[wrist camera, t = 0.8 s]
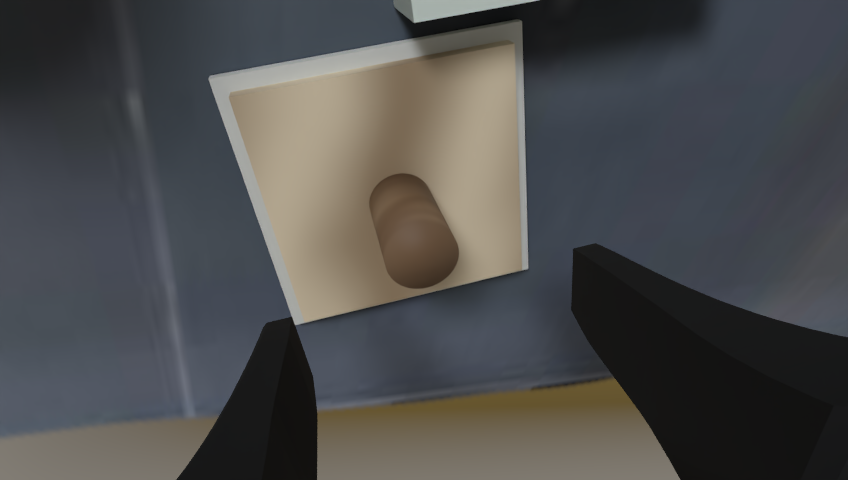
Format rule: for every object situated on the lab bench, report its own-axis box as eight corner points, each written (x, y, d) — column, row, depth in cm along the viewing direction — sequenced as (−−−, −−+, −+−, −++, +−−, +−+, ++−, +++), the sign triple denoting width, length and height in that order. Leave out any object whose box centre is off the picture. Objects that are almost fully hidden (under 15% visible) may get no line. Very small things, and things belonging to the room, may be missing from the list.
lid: (508, 39, 17) (571, 73, 13) (516, 262, 22) (564, 333, 18) (230, 92, 16) (211, 145, 12) (304, 312, 21) (307, 400, 17)
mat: (517, 19, 17) (521, 21, 17) (524, 263, 23) (528, 268, 22) (210, 75, 16) (208, 79, 16) (295, 318, 21) (295, 325, 21)
